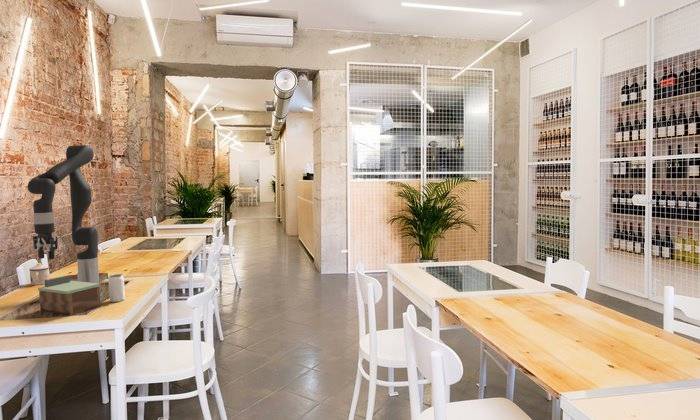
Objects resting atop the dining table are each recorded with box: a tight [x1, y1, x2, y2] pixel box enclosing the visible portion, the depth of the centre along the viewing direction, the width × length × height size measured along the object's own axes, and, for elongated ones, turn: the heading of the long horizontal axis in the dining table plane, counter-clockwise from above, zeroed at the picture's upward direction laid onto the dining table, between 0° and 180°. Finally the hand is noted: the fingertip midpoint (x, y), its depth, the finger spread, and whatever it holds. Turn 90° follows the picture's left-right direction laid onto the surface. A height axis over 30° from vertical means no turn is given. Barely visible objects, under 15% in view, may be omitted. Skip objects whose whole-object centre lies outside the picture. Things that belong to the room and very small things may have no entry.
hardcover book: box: [66, 272, 109, 283], centre depth 254 cm, size 12×21×4 cm, turn 103°
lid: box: [37, 275, 101, 294], centre depth 197 cm, size 20×15×4 cm
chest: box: [38, 286, 101, 316], centre depth 198 cm, size 20×14×9 cm
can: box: [108, 273, 126, 303], centre depth 210 cm, size 6×6×12 cm
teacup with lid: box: [29, 262, 50, 286], centre depth 250 cm, size 12×9×12 cm
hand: (46, 258), depth 203 cm, fingers open, 6 cm apart
